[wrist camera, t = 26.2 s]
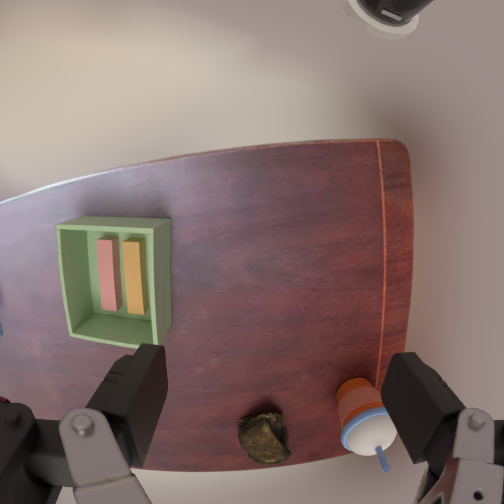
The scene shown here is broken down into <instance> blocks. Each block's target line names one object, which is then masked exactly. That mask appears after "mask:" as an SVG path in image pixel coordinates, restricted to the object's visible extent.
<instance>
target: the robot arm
mask: <svg viewBox="0 0 504 504" xmlns="http://www.w3.org/2000/svg"><path fill="white" fill-rule="evenodd" d="M356 1H357V3H358V5H359V6H360V7H361V9H362V10H363V11H364V12H365V13H366V14H367V15H369V16H370V17H371V18H373V19H374V20H376V21H378V22H380V23H382V24H384V25H387V26H392V27H401V26H404V25H406V24H408V23H409V22H410V21H411V20H412V18H413V17H415V16H416V15H417V14H418V13H419V12H421V11H422V10H423V9H424V8H425V7H426V6H428V5H429V4H430V3H431V2H432V1H434V0H356ZM167 390H168V379H167V368H166V357H165V348H164V346H163V345H155V344H148V343H141V344H140V346H139V347H138V349H137V351H136V352H135V354H134V356H132V355H125V356H123V357H122V358H120V359H119V360H117V361H116V362H115V363H114V364H113V366H112V367H111V369H110V370H109V373H107V375H106V376H105V378H104V381H102V382H101V384H100V385H99V387H98V389H97V390H96V392H95V393H94V395H93V396H92V398H91V399H90V401H89V402H88V404H87V406H86V407H85V408H80V409H75V410H72V411H70V412H68V413H66V414H65V415H64V416H63V417H62V418H61V420H44V419H35V417H34V415H33V413H32V411H31V409H30V408H29V407H27V406H26V405H24V404H21V403H8V404H5V405H3V406H1V407H0V504H55V503H56V501H57V499H58V496H59V494H60V491H61V489H62V487H63V486H65V487H73V494H74V497H75V500H76V503H77V504H152V503H151V501H150V499H149V498H148V496H147V494H146V493H145V491H144V489H143V487H142V486H141V484H140V482H139V480H138V479H137V477H136V476H135V474H133V473H132V471H131V470H130V467H131V465H132V466H136V467H141V468H142V467H143V464H144V461H145V458H146V455H147V452H148V449H149V446H150V443H151V440H152V437H153V434H154V431H155V428H156V426H157V423H158V420H159V417H160V414H161V411H162V408H163V405H164V403H165V400H166V396H167ZM381 400H382V403H383V405H384V407H385V409H386V411H387V412H388V414H389V416H390V418H391V420H392V422H393V424H394V426H395V428H396V430H397V432H398V434H399V436H400V438H401V440H402V442H403V444H404V446H405V448H406V449H407V451H408V454H409V455H410V458H411V459H412V461H413V464H417V463H420V462H424V461H427V462H428V466H427V467H426V468H425V470H424V473H423V476H422V480H421V482H420V485H419V488H418V491H417V494H416V496H415V499H414V502H413V504H504V420H493V419H492V417H491V416H490V415H489V414H488V413H486V412H485V411H483V410H481V409H478V408H466V407H465V406H464V405H463V403H462V402H461V401H460V400H459V398H458V397H457V396H456V395H455V394H454V392H453V391H452V390H451V389H450V387H448V385H447V384H446V383H445V381H443V380H442V378H441V377H440V375H439V374H438V373H437V372H436V371H435V370H434V369H432V368H431V367H429V366H428V365H426V364H424V363H423V362H422V360H421V359H420V358H419V357H418V356H417V355H416V353H414V352H407V353H395V354H394V355H393V356H392V358H391V361H390V364H389V367H388V370H387V373H386V376H385V379H384V382H383V385H382V388H381Z"/></svg>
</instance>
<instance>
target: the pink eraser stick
mask: <svg viewBox="0 0 504 504" xmlns="http://www.w3.org/2000/svg"><path fill="white" fill-rule="evenodd" d="M96 242H97V260H98V274H99V285H100V295H101V304H102V309H103V310H110V311H118V310H119V309H120V307H121V306H122V305H123V299H122V287H121V272H120V252H119V237H114V236H103V237H101V238H99V239H96Z"/></svg>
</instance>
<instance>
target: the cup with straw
mask: <svg viewBox="0 0 504 504" xmlns="http://www.w3.org/2000/svg"><path fill="white" fill-rule="evenodd" d="M336 397H337V402H338V413H339V418H340V423H341V428H342V432H341V442H342V444H343V446H344V447H345V448H346V449H348V450H350V451H353V452H355V453H357V454H360V455H374V454H377V455H378V458H379V460H380V463H381V465H382V468H383V470H384V472H387V471H389V470H390V467H389V464H388V462H387V460H386V457H385V455H384V453H383V450H385V449H386V448H387V447H389V446H390V444H391V443H392V441H393V440H394V439H395V436H396V433H397V430H396V428H395V426H394V424H393V422H392V420H391V418H390V416H389V414H388V412H387V411H386V409H385V407H384V405H383V403H382V400H381V395H380V394H379V392H378V391H377V390H376V389H375V388H373V386H372V385H371V384H370V382H369V381H368V380H367V379H365V378H353V379H350V380H348V381H346V382H345V383H343V384H342V385H341V386H340V387H339V389H338V391H337V395H336Z"/></svg>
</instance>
